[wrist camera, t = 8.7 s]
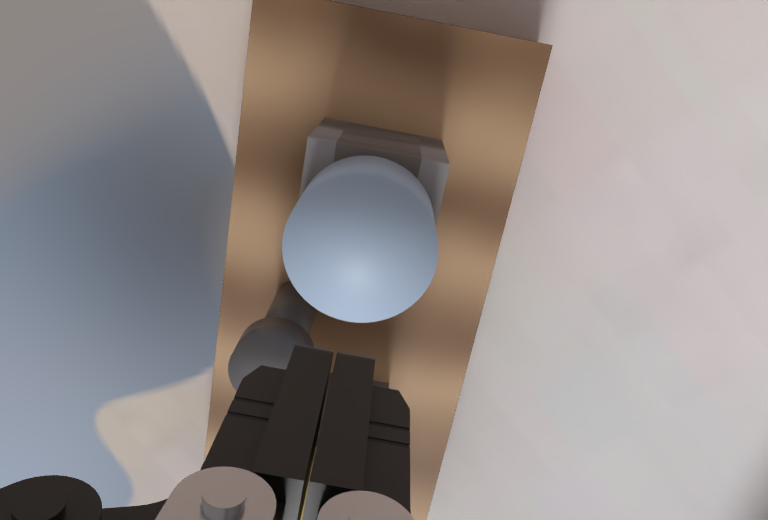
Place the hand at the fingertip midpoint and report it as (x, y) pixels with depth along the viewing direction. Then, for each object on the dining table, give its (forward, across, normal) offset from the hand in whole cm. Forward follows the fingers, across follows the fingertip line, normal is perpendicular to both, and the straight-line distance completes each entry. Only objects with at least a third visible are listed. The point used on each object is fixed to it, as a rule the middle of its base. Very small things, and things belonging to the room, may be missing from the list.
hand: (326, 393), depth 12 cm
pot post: (+17, +2, +6) cm, 18 cm away
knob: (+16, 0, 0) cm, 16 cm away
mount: (+20, 0, +6) cm, 21 cm away
